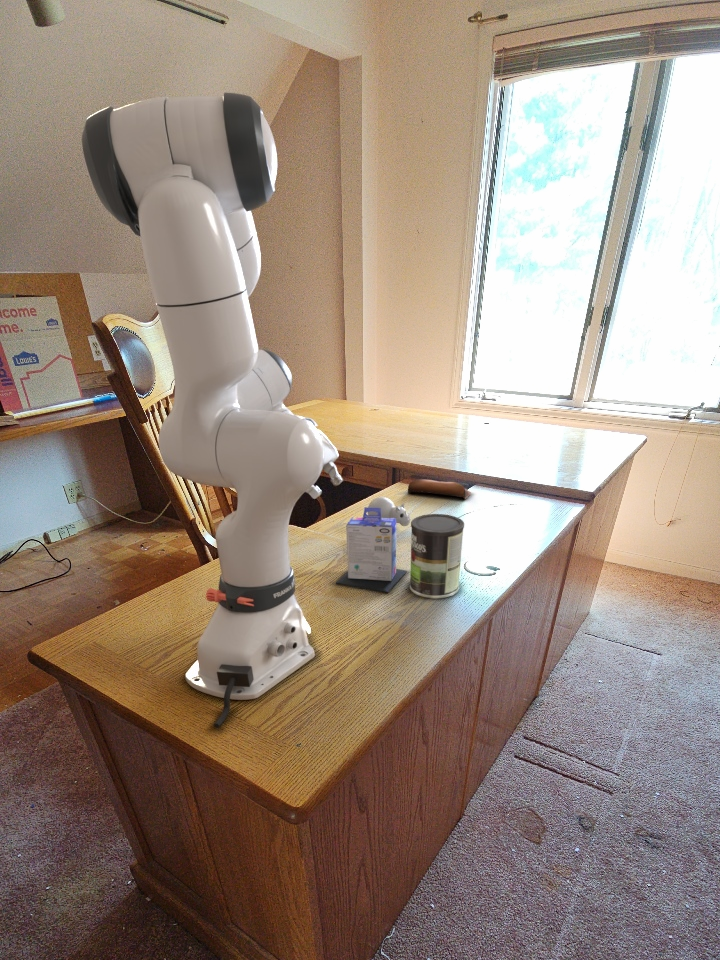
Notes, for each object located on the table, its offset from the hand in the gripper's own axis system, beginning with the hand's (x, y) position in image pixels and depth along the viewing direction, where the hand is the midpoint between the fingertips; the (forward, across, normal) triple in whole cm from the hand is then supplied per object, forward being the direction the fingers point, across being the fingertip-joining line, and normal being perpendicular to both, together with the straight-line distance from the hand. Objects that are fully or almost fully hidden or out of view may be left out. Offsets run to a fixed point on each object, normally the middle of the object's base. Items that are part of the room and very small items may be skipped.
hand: (329, 489), depth 115 cm
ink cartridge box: (+19, 0, +6) cm, 20 cm away
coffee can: (+30, 0, -4) cm, 30 cm away
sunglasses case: (+16, +62, +10) cm, 65 cm away
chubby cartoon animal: (+15, +27, +11) cm, 33 cm away
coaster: (+20, 0, +6) cm, 20 cm away
